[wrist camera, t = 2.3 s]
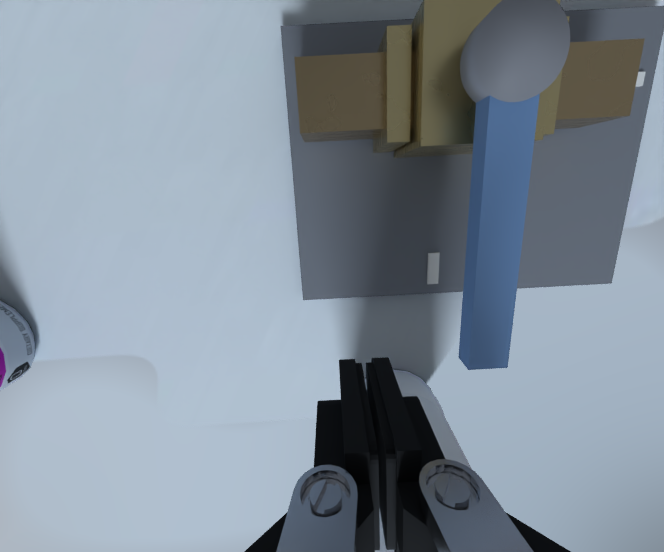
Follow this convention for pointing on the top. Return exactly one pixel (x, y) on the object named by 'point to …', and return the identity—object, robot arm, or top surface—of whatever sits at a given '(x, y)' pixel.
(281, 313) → the top surface
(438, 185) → the base plate
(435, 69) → the valve
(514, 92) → the lever
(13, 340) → the supplement can
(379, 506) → the robot arm
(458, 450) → the bottle
